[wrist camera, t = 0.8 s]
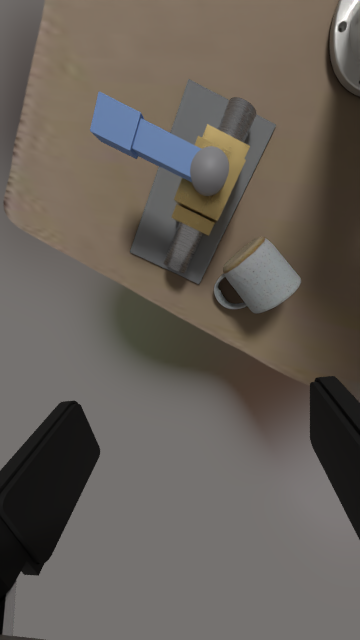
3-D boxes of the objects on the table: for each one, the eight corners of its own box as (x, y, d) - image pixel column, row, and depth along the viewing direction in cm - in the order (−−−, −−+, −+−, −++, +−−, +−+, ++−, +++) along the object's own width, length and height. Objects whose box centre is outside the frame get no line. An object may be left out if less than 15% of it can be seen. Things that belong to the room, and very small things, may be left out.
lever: (110, 102, 21) (99, 87, 19) (233, 164, 22) (236, 156, 20) (100, 144, 22) (89, 134, 20) (216, 202, 23) (217, 198, 21)
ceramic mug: (256, 232, 32) (270, 231, 25) (289, 274, 33) (312, 284, 26) (201, 281, 35) (200, 292, 28) (234, 317, 37) (241, 336, 29)
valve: (219, 106, 27) (226, 53, 19) (259, 127, 27) (281, 83, 20) (159, 258, 34) (146, 264, 26) (192, 274, 34) (188, 283, 27)
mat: (188, 80, 27) (188, 78, 26) (275, 126, 27) (276, 124, 27) (130, 251, 34) (129, 252, 34) (199, 283, 35) (199, 284, 35)
